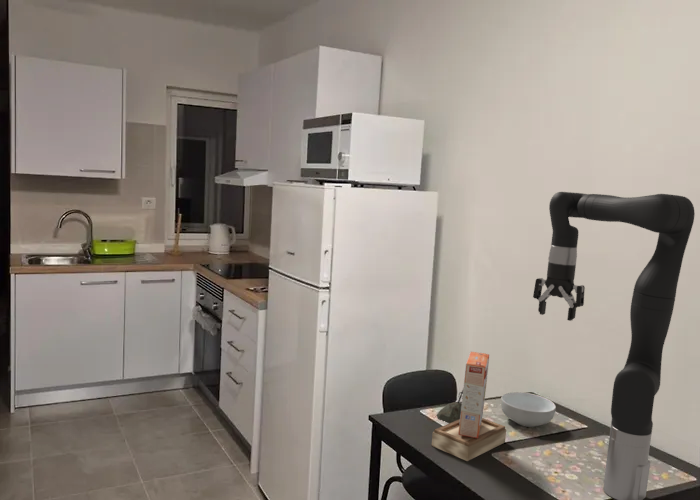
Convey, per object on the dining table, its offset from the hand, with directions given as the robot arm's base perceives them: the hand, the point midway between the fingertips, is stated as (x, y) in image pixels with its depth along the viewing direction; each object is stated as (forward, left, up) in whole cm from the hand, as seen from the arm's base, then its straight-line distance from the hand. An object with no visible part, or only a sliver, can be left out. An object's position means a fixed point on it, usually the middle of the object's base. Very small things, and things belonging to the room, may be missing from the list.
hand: (555, 317), depth 177 cm
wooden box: (+13, +19, -38) cm, 45 cm away
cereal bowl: (+11, -11, -38) cm, 41 cm away
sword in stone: (+27, +7, -39) cm, 48 cm away
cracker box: (+13, +19, -34) cm, 41 cm away
